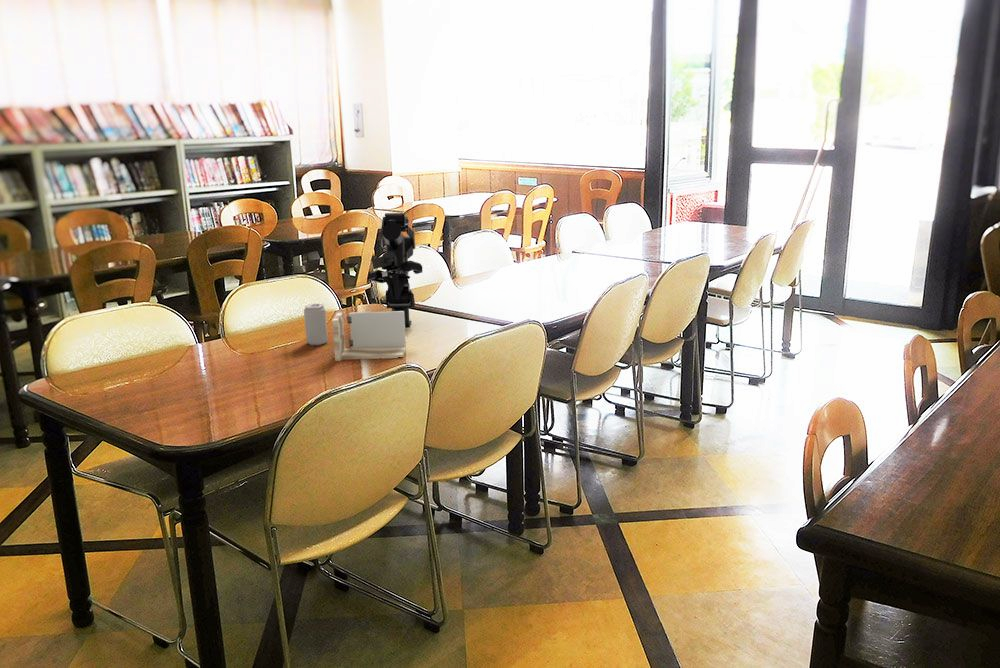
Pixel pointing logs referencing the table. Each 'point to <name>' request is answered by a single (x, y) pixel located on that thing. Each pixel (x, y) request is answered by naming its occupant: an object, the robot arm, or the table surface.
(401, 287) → the robot arm
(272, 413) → the table surface
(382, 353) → the cabinet corner
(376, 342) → the cabinet door
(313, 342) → the beverage can
